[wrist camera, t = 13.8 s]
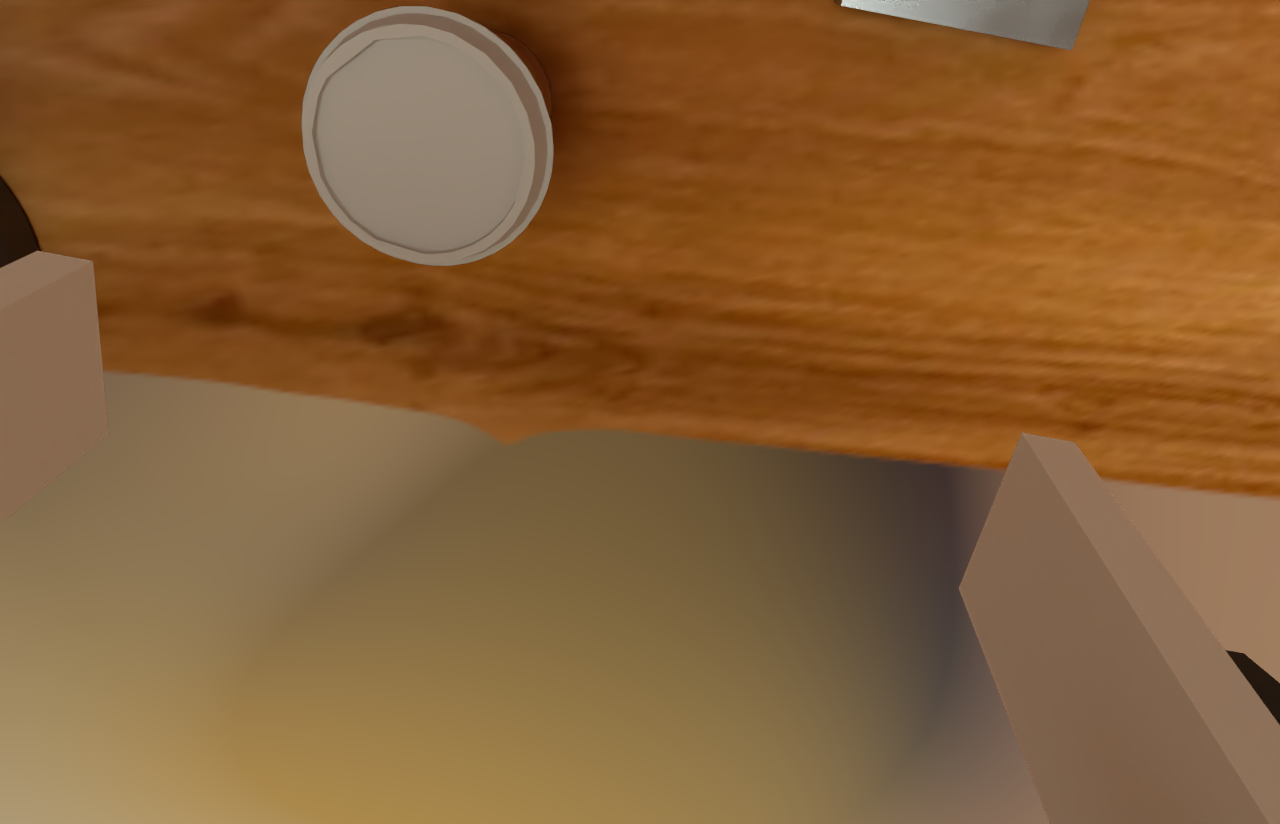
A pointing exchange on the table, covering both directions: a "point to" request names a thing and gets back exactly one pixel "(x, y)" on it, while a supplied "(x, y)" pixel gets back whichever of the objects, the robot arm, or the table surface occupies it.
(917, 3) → the grey flat rectangular block
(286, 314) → the table surface
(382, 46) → the disposable coffee cup
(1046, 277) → the table surface
